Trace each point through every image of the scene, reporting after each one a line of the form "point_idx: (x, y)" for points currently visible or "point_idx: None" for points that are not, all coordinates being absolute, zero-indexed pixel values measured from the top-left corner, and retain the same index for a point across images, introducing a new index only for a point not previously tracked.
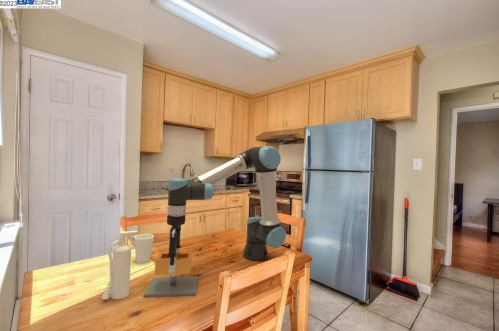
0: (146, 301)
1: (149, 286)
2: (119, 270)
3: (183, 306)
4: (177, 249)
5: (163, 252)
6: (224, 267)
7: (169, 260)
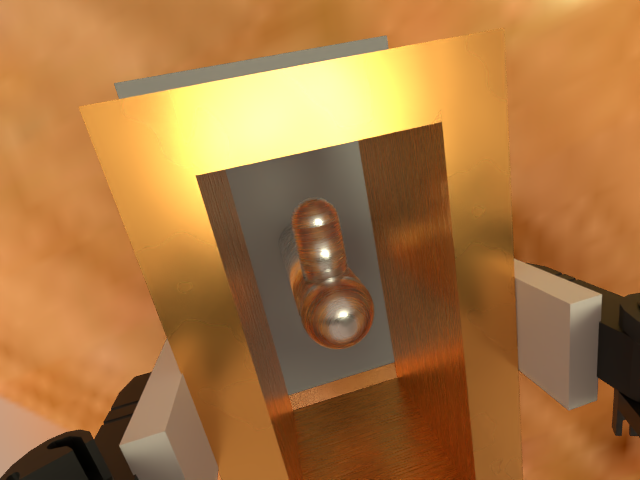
0: (76, 136)
1: (244, 73)
2: None
3: (98, 386)
4: (560, 380)
5: (504, 112)
6: (554, 432)
7: (149, 393)
